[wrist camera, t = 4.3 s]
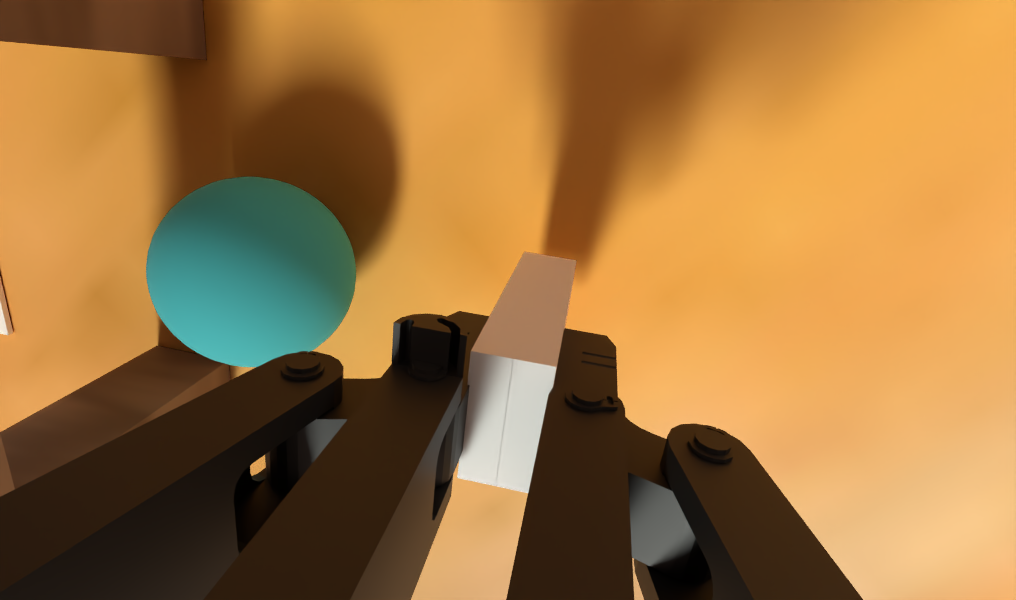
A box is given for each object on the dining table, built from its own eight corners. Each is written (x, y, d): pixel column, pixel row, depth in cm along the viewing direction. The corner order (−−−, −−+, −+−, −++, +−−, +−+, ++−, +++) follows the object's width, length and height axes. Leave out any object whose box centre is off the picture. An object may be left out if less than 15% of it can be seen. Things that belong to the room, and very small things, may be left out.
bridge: (162, 390, 22) (-122, 577, 13) (110, -25, 17) (-414, -151, 8) (231, 405, 22) (-15, 607, 13) (201, -14, 16) (-247, -135, 8)
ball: (196, 203, 12) (394, 185, 16) (94, 169, 15) (283, 161, 19) (223, 428, 13) (394, 357, 18) (128, 356, 16) (293, 311, 21)
